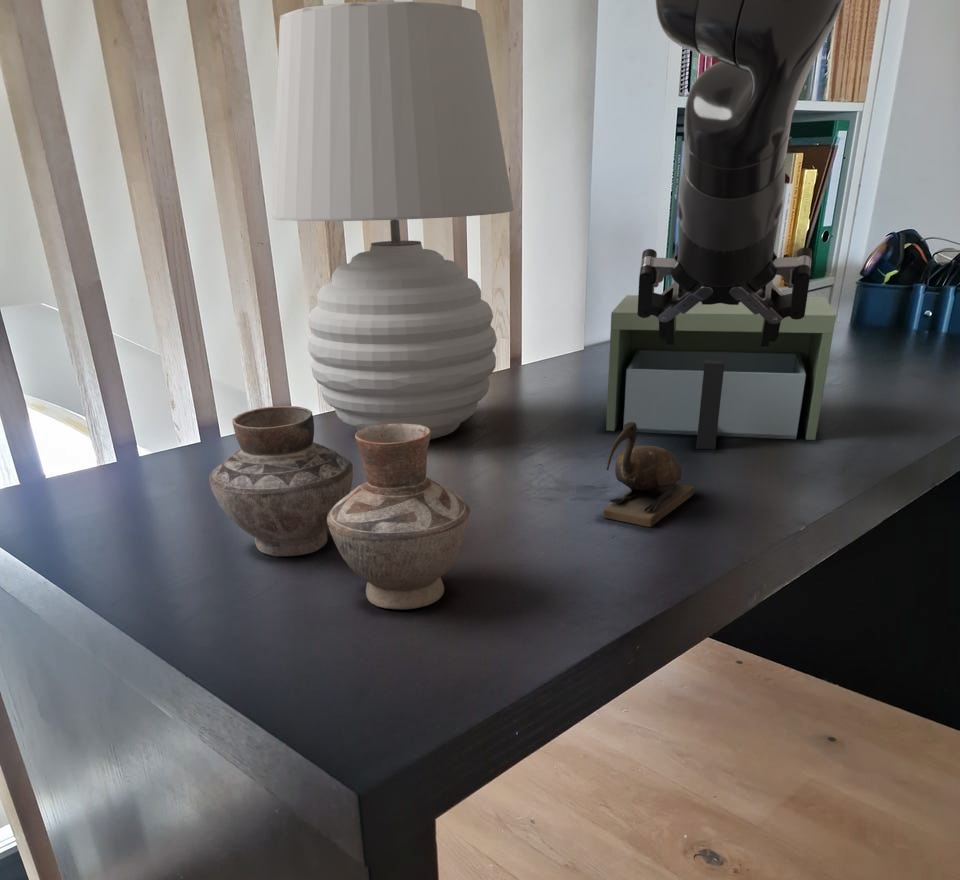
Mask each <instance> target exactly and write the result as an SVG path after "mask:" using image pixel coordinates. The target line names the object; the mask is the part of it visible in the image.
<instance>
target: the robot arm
mask: <svg viewBox="0 0 960 880" xmlns="http://www.w3.org/2000/svg"><path fill="white" fill-rule="evenodd" d="M844 1H845V0H655V8H656V10H655V11H656V17H657V19H658V22H659V25H660V27H661V29H662V31H663V33H664V34H665V35H666V37H667V38H668V39H669V40H670V41H672V42H673V43H674V44H676V45H678V46H679V47H681V48H684V49H686V50H688V51H691V52H693V53H696V54H699V55H702V56H705V57H708V58H710V59H713V60H716V61H718V62H715V63H714V64H712V65H711V66H709V67H708V68H706V69H704V71H702V72H701V74H700V75H699V76H698V77H697V78H696V80H694V83H693V84H692V85H691V87H690V90H689V92H688V95H687V98H686V103H685V110H684V122H683V123H684V124H683V162H682V170H681V176H680V179H679V188H678V189H679V190H678V202H677V207H676V209H677V210H676V211H677V217H678V225H677V226H678V229H677V230H678V231H677V232H678V233H677V253H676V254H675V255H673V256H674V257H657V256H658V254H657V251H656V250H655V249H652V248H647V249H644V250H643V251H642V254H641V262H640V269H639V276H638V292H637V293H638V294H637V295H638V313H637V314H638V316H639V317H641V318H647V317H649V316H650V315H654V316H656V317H657V318H658V320H659V337H660V338H661V340H666V345H674V340H675V332H676V316H677V315H678V314H679V313H682V314H685V313H686V312H687V311H689V310H690V309H691V308H692V307H694V306H695V305H696V304H697V303H699V302H702V305H711V304H718V303H722V304H728V305H739V302H742V303H743V304H744V305H745V306H746V307H747V308H748V309H749V310H750V311H751V312H752V313H753V314H755V315H757V314H760V315H761V316H762V317H763V318H764V320H763V326H762V335H761V345H760V347H768V346H769V341H776V339H777V338H778V334H779V329H780V324H781V321H782V319H784V318H786V317H789V316H790V317H791V318H792V319H795V320H798V319H802V318H803V317H804V316H805V309H806V302H807V297H808V295H809V287H810V280H811V267H812V257H813V250H812V249H811V248H809V247H801V248H799V249H797V251H796V252H795V256H787V257H778V256H777V254H776V253H775V245H776V240H777V233H778V227H779V221H780V217H781V213H782V209H783V207H784V200H783V197H784V191H785V184H786V157H787V153H788V145H789V138H790V134H791V133H790V132H791V127H792V120H793V116H794V112H795V109H796V106H797V103H798V101H799V99H800V95H801V93H802V90H803V87H804V85H805V83H806V80H807V78H808V76H809V73H810V71H811V69H812V67H813V65H814V63H815V61H816V59H817V57H818V55H819V53H820V51H821V49H822V48H823V46H824V44H825V43H826V40H827V39H828V36H829V34H830V33H831V31H832V30H833V29H832V28H833V27H834V25H835V23H836V21H837V18H838V16H839V14H840V12H841V9H842V7H843V3H844ZM667 276H671V278H672V280H673V282H672V284H670V285H669V286H668V287H667V288H665V290H663V291H662V292H661V293H657V292H655V288H658V287H659V284H660V283H662V282H663V281H664V279H665V277H667ZM776 276H781V277H782V278H783V282H784V283H786V284H787V288H789V289H791V293H786V294H784V293H783V292H782V291H781V290H780V289H779V288H778V287H777V286H776V285H775V284H774V282H773V280H774V279H775V278H776Z"/></svg>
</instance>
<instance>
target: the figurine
mask: <svg viewBox="0 0 960 880" xmlns="http://www.w3.org/2000/svg"><path fill="white" fill-rule="evenodd" d="M623 426H624V430H623V429H622V431H620V434H619V435H618V436H617V438H616V439H615V441H614V443H613V445H612V447H611V450H610V453H609V455H608V459H607V463H606V467H605V469H606V471H609V469H610V465H611V462H612V458H613V455H614V452H615V451H616V450H617V448H618V447H619V445H621V443H622V442H624V441H625V440H626V446H625V449H624V450H622V451H621V452H620V453H619V455H618V456H617V458H616V461H615V464H614V473H615V478H616V480H617V481H618V482H619V483H622V485H624V486H626V487H628V489H630V490H629V491H628V492H626V493H625V494H624V495H623V496H620V497H616V498H613V499H611V500H609V503H610V502H611V504H610V505H608V506H606V507H605V508H604V509H603V518H605V519H609V520H613V521H619V522H622V523H623V522H624V523H628V524H634V525H638V526H643V527H648V528H651V527H653V526H654V525H655V524H656V523H658V522H659V521H660V520H662V519H663V518H665V517H666V516H667V515H669V514H670V513H671V512H673V511H674V510H676V509H677V508H678V507H679V506H681V505H682V504H684V503H685V502H686V501H687V500H688V499H690V498H691V497H692V496H693V495H694V492H695V486H693V485H689V484H684V483H677V482H679V481H680V480H681V478H682V469H681V466H680V465H681V464H680V462H679V460H678V458H677V457H676V456H675V455H674V454H673V452H671V451H669V450H667V449H665V448H662V447H660V446H656V445H636V446H635V443H636V439H637V434H638V432H637V426H636V423H634V422H629V423H626V424H625V425H624V424H623Z"/></svg>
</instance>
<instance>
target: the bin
mask: <svg viewBox="0 0 960 880" xmlns="http://www.w3.org/2000/svg"><path fill="white" fill-rule="evenodd" d="M805 378H806V373H805V369H804V366H803V362H802V359H801V355H800V353H768V352H724V351H680V350H638V351H637V353H636V354H635V356H634V358H633V360H632V361H631V363H630V365H629V367H628V368H627V372H626V390H625V408H624V412H623V429H622V431H623V430H624V425H625V424H626V423H629V422H634V423H636V426H637V433H649V434H667V435H668V434H670V435H671V434H672V435H690V436H691V435H692V436H695V435H696V445H695V449H696V450H697V449H698V450H712V451H713V450H714V451H715V450H716V446H717V439H718V438H717V437H735V438H737V437H738V438H754V439H755V438H756V439H778V440H797V436H798V429H799V423H800V418H801V414H800V411H801V404H802V398H803V391H804V385H805Z"/></svg>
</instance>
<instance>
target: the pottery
mask: <svg viewBox="0 0 960 880" xmlns="http://www.w3.org/2000/svg"><path fill="white" fill-rule="evenodd" d="M313 415H314V414H313V411H312V410H310V409H308V408H306V407H301V406H297V405H296V406H294V405H273V406H265V407H264V406H263V407H259V408H254V409H251V410H248V411H244V412H241V413H239V414H237V415H236V416H234V417H233V418H232V421H231V423H232V426H233V432H234V434H235V435H234V436H235V437H236V440H237V442H238V445H239V447H240V449H239V450H236V451H235V452H233V454H231V455H229V456H228V457H227V458H226V459H224V461H222V462H221V463H219V464H218V465H217V466H216V467H215V468H214V469H213V470H212V471H211V472H210V473H209V476H208V481H209V485H210V489H211V491H212V494H213V496H214V498H215V500H216V502H217V503H218V505H219V507H220V508H221V509H222V511H223V512H224V513H225V515H226V516H227V517H228V518H229V519H230V520H231V521H232V522H233V523H234V524H235V525H236V526H237V527H239V528H240V529H241V530H242V531H244V532H245V533H247V534H248V535H250V536H252V537H254V544H255V546H256V548H257V550H258V551H260V552H261V553H263V554H265V555H269V556H271V557H298V556H299V557H300V556H304V555H310V554H313V553H315V552H317V551H318V550H320V549H322V548H323V547H324V546H325V545H326V544H327V542H328V532H327V529H329V532H330V535H331V537H332V540H333V542H334V544H335V546H336V548H337V550H338V553H339V555H341V558H342V559H343V560H344V562H345V563H346V564H347V566H348V567H349V568H350V569H351V570H352V571H353V572H354V573H355V574H356V575H357V576H359V578H360V579H363V580H364V581H365V582H366V587H365V596H366V598H367V600H368V601H369V602H370V603H371V604H372V605H373V606H376V607H379V608H383V609H390V610H414V609H418V608H423V607H426V606H430V605H432V604H434V603H436V602H437V601H439V600H440V599H441V598H442V596H443V595H444V592H445V586H444V583H443V580H442V576H444V574H446V573H447V572H448V571H449V570H450V568H451V567H452V566H453V564H454V562H455V561H456V560H457V557H458V555H459V553H460V550H461V548H462V546H463V545H462V544H463V541H464V539H465V536H466V532H467V528H468V524H469V519H470V512H471V510H470V506H469V504H468V503H467V502H466V501H465V500H464V499H463V498H462V497H461V496H460V495H458V494H457V493H456V492H455V491H453V490H451V489H449V488H447V487H445V486H444V485H442V484H440V483H439V482H437V481H434V480H433V479H431V478H429V477H427V466H428V465H427V462H428V461H427V460H428V451H429V446H430V441H431V440H430V434H431V432H430V429H429V428H427V427H426V426H422V425H417V424H383V425H375V426H370V427H367V428H364V429H362V430H360V431H358V430H357V431H356V432H355V435H354V439H355V442H356V445H357V448H358V451H359V454H360V457H361V461H362V466H363V467H362V468H363V471H364V475H365V479H366V481H364V482H363V483H361V484H359V485H357V486H356V487H355V488H354V489H353V490H351V489H352V486H353V477H354V467H353V466H354V465H353V463H352V462H351V461H350V459H348V458H347V457H345V456H344V455H342V454H340V453H339V452H337V451H335V450H333V449H331V448H329V447H327V446H325V445H322V444H320V443H317V442H314V438H315V422H314V416H313Z"/></svg>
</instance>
